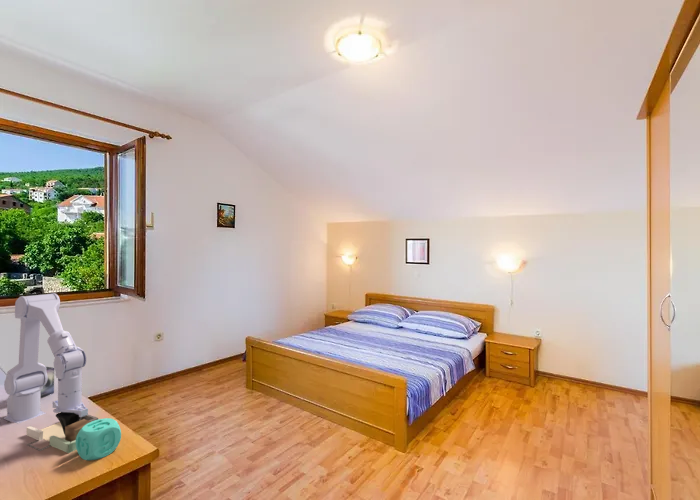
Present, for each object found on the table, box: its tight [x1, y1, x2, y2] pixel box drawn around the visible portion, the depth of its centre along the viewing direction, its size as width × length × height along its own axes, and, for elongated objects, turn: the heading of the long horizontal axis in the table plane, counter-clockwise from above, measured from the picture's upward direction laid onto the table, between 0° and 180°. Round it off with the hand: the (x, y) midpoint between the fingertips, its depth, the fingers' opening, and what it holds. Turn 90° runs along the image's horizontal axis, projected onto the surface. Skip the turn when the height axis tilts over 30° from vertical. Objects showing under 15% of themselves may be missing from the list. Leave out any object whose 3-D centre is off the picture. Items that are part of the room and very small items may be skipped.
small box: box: [41, 366, 55, 399], centre depth 134 cm, size 11×6×10 cm, turn 168°
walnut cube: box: [65, 419, 91, 442], centre depth 104 cm, size 5×5×5 cm
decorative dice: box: [76, 417, 122, 461], centre depth 100 cm, size 8×8×8 cm
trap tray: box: [25, 414, 99, 454], centre depth 107 cm, size 22×16×3 cm
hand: (69, 434), depth 106 cm, fingers closed
